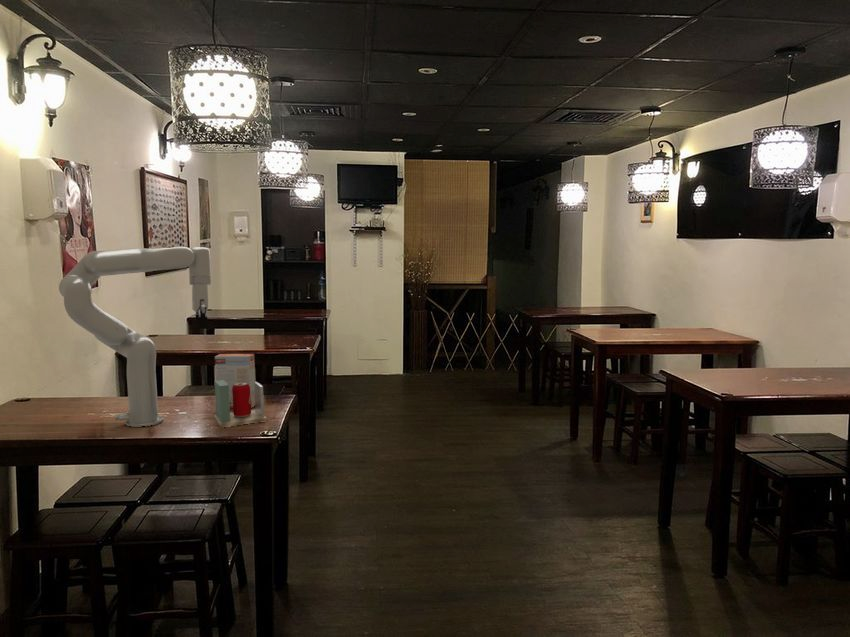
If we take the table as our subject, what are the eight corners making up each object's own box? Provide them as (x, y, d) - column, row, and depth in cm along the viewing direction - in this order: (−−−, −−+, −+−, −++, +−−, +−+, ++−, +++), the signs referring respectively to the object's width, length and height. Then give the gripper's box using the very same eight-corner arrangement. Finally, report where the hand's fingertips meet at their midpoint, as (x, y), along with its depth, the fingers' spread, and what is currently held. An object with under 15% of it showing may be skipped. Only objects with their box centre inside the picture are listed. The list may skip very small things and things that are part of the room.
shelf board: (221, 428, 227) (221, 424, 226) (214, 418, 239) (213, 414, 239) (267, 421, 234) (267, 417, 234) (257, 412, 246) (257, 409, 246)
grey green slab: (221, 422, 228) (219, 386, 227) (216, 415, 237) (214, 380, 236) (230, 421, 230) (228, 385, 228) (224, 414, 239) (223, 379, 237)
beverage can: (253, 413, 240) (252, 381, 238) (248, 418, 234) (247, 385, 232) (236, 413, 240) (235, 381, 238) (231, 418, 234) (229, 385, 232)
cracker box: (257, 405, 258) (255, 353, 255) (251, 409, 252) (249, 356, 249) (223, 404, 259) (220, 353, 257) (216, 408, 253) (214, 355, 251)
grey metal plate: (261, 416, 235) (260, 386, 234) (255, 411, 243) (254, 382, 242) (264, 416, 236) (262, 386, 234) (258, 410, 244) (257, 381, 242)
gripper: (187, 279, 249) (189, 324, 250) (191, 281, 233) (193, 329, 235) (208, 279, 252) (209, 323, 253) (213, 281, 236) (214, 328, 238)
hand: (201, 326), depth 244 cm, fingers open, 9 cm apart
